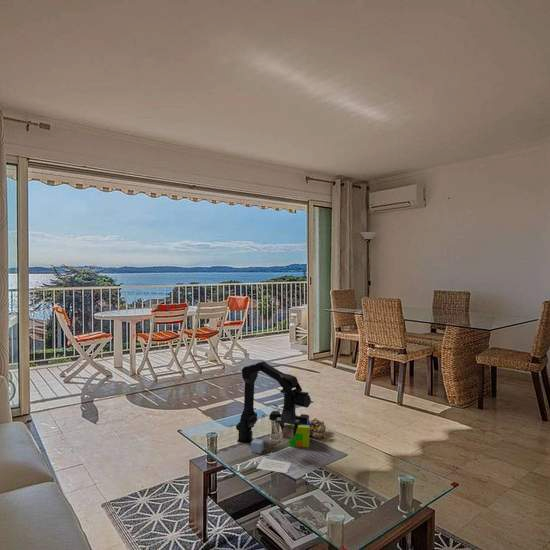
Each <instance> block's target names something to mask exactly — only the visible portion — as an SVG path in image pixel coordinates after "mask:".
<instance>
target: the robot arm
mask: <svg viewBox="0 0 550 550" xmlns="http://www.w3.org/2000/svg"><path fill="white" fill-rule="evenodd" d="M259 372H262V373H263V374H265V375H267V376H269V378H272V379H273V380H275V381H276V382H277V383H278V384H279V386H280V387H281V388H282V389H281V390H280V391H279V392H280V393H282V394H283V408H282V411H281V412H280V411H279V410H272V411H271V412H270V413H269V417H268V419H269V421H275V422H276V423H278V424H279V426H280V430H281V434H283V427H284V426H285V424H287V425H290V424H291V421H295V420H296V422H295V424H294V425H295V427H294V436H295V434H296V431H297V428H298V426H299V425H301V424H308V422H309V421H310V415H309V414H305V413H304V414H303V413H301V414H300V415H297V412H296V406H299V407H302V408H309V406H310V405H311V403H312V398H311V396H310V395H309V392H306V391H303V389H302V387H301V384H300V383H299V380H298V378H297V377H296V376H295V375H292V374H288V373H284V372H282V371H281V370H279V369H277V368H276V367H273V366H272V365H270V364H268V363H267V362H266V361H264V360H262V361H259V362H257V363H255V364H249V365H246V366H244V367H243V368H242V369H241V377H242V380H243V382H244V395H243V396H244V398H243V399H244V400H243V402H244V403H243V411H242V413H241V415H240V418H239V422H238V423H236V425H235V429H236V431H238V439H237V441H236V442H238V443H245V444H249V443H251V442H252V441H253V440H254V437H253V434H254V433H253V431H252V430H253V429H252V428H255V425H256V423H257V422H258V413H257V412H255V410H254V404H255V382H256V380H257V378H258V375H259Z"/></svg>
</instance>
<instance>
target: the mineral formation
mask: <svg viewBox="0 0 550 550" xmlns="http://www.w3.org/2000/svg"><path fill="white" fill-rule="evenodd" d="M309 421H310V432H309V436H311V437H314V438H316V439H322V438H326V436H327V435H326V429H327V426H326V425H325V421H324V420H320V419H317V417H314V418H313V419H310V420H309Z"/></svg>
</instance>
